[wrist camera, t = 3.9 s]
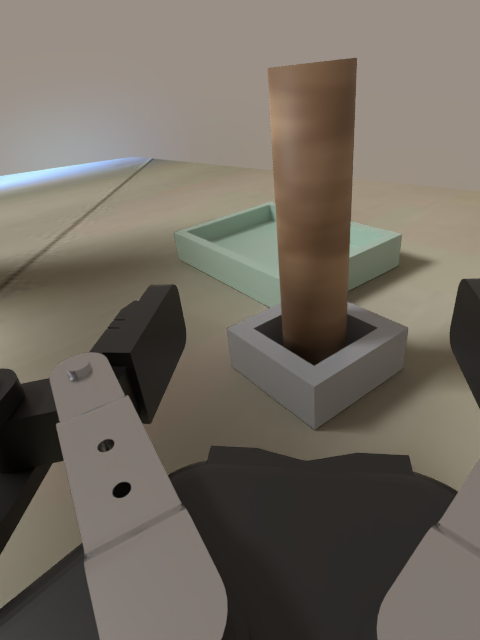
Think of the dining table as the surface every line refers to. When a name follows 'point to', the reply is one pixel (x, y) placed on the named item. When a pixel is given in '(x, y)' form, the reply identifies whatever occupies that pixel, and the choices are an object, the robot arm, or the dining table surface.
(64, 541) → the dining table surface
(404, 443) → the dining table surface
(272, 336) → the holder
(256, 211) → the tray
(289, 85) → the dowel
